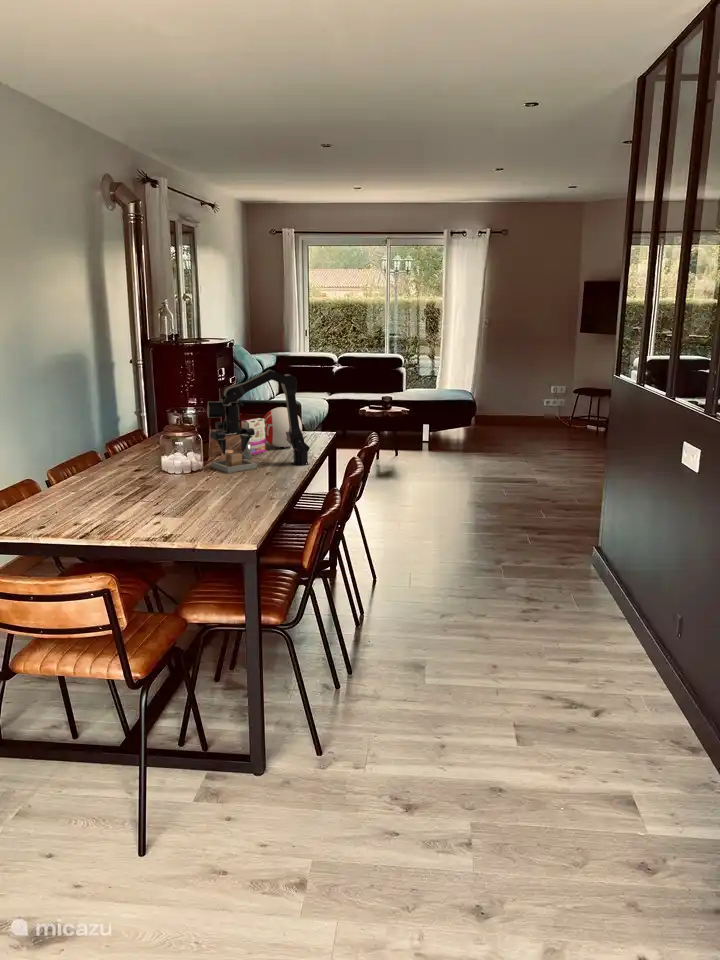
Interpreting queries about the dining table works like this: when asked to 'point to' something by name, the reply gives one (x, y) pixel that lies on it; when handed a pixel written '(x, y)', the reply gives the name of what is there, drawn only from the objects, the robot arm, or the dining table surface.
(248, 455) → the steel cylinder
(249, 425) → the candy bar box
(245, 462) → the charcoal tray
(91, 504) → the dining table surface
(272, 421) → the decorative sphere
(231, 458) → the walnut block
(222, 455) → the tan block
